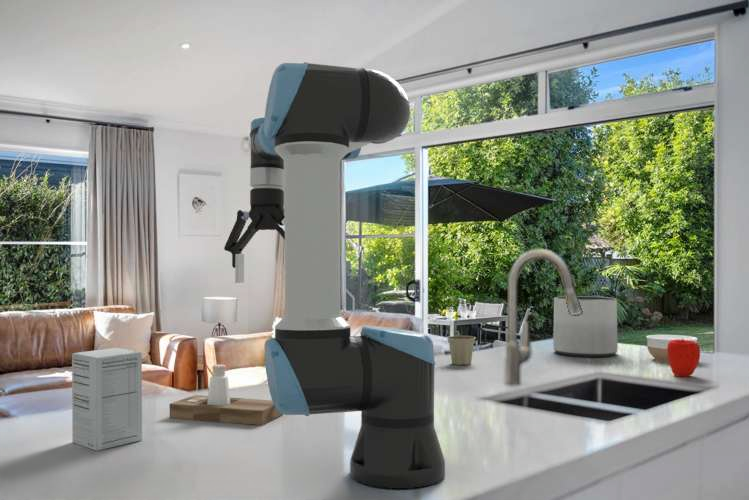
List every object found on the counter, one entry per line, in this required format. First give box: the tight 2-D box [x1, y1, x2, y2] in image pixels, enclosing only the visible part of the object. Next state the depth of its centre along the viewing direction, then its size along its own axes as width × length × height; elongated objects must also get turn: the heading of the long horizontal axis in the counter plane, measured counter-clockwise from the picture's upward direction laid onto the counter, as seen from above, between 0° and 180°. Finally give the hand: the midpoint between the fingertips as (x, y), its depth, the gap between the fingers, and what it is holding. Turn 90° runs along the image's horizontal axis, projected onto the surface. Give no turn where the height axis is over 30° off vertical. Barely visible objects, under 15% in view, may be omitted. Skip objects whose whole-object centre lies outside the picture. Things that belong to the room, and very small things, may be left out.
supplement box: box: [71, 347, 143, 452], centre depth 130 cm, size 10×9×17 cm
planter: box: [552, 295, 618, 358], centre depth 249 cm, size 22×22×20 cm
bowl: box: [645, 333, 698, 363], centre depth 233 cm, size 16×16×8 cm
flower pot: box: [446, 335, 477, 366], centre depth 224 cm, size 9×9×9 cm
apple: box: [667, 339, 701, 378], centre depth 203 cm, size 9×9×11 cm
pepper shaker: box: [207, 364, 231, 406], centre depth 151 cm, size 5×5×11 cm
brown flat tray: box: [169, 394, 284, 426], centre depth 150 cm, size 10×22×3 cm, turn 72°
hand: (266, 283), depth 155 cm, fingers open, 13 cm apart
